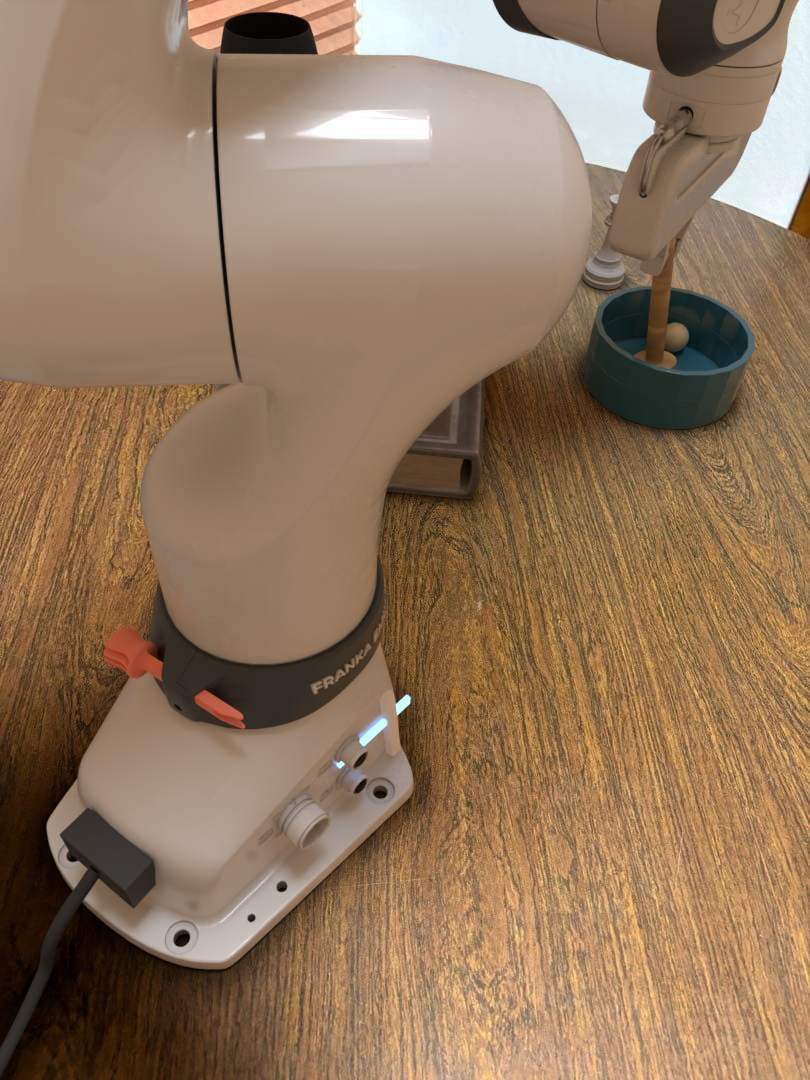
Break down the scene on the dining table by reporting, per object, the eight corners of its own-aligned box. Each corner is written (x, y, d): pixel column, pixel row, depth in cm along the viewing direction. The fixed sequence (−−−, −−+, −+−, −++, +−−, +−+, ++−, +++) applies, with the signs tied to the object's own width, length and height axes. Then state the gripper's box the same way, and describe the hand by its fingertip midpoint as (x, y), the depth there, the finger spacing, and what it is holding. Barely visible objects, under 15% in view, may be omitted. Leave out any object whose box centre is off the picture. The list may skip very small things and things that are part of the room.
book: (276, 281, 91) (273, 237, 88) (486, 299, 91) (491, 255, 87) (206, 475, 70) (198, 428, 67) (477, 500, 70) (484, 454, 66)
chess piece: (618, 269, 96) (639, 181, 89) (626, 290, 93) (649, 201, 86) (579, 268, 96) (597, 180, 88) (586, 289, 93) (605, 200, 85)
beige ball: (683, 352, 82) (680, 322, 81) (655, 355, 84) (652, 326, 83) (694, 348, 84) (692, 319, 83) (667, 351, 86) (665, 322, 85)
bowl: (702, 450, 75) (724, 395, 71) (557, 391, 80) (569, 336, 76) (752, 372, 84) (774, 318, 79) (618, 323, 89) (632, 270, 84)
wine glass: (320, 238, 98) (314, 45, 83) (229, 234, 98) (206, 39, 83) (327, 196, 105) (323, 11, 90) (242, 192, 105) (223, 6, 90)
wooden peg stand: (650, 395, 78) (669, 207, 67) (621, 377, 81) (633, 194, 70) (683, 380, 79) (707, 193, 68) (653, 363, 82) (671, 181, 71)
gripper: (700, 147, 56) (647, 331, 66) (789, 63, 68) (732, 229, 78) (611, 122, 58) (572, 304, 68) (712, 45, 70) (667, 209, 80)
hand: (658, 263), depth 73 cm, fingers closed on wooden peg stand, 2 cm apart
